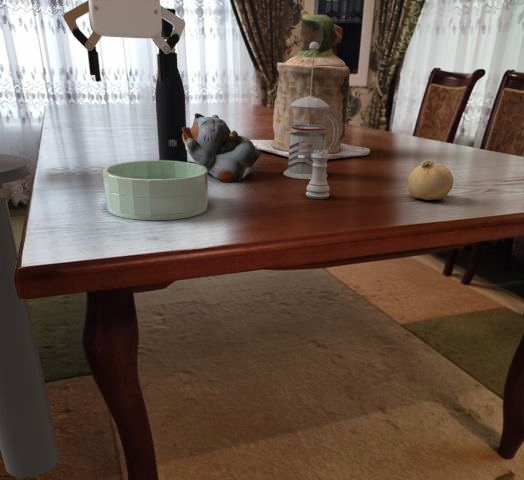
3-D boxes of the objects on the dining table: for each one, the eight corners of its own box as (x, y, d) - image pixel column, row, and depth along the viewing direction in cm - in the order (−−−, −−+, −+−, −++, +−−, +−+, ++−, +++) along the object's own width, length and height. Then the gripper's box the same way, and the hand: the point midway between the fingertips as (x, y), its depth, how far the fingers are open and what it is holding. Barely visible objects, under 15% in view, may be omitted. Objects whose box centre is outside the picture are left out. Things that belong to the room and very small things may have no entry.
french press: (297, 168, 120) (305, 42, 108) (343, 175, 115) (356, 43, 102) (274, 174, 113) (279, 40, 101) (321, 182, 108) (333, 41, 95)
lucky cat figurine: (240, 185, 103) (203, 117, 96) (196, 200, 110) (159, 138, 103) (271, 151, 112) (240, 87, 105) (229, 168, 119) (197, 109, 113)
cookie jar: (304, 164, 125) (315, 3, 109) (242, 149, 142) (244, 8, 126) (373, 155, 139) (391, 12, 123) (309, 143, 155) (318, 15, 140)
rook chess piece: (306, 199, 95) (310, 152, 91) (303, 193, 99) (306, 148, 95) (331, 199, 95) (335, 153, 91) (327, 194, 99) (331, 149, 95)
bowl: (125, 225, 78) (121, 183, 75) (95, 200, 90) (90, 163, 87) (224, 213, 85) (224, 175, 82) (184, 191, 97) (182, 157, 94)
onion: (412, 192, 102) (418, 153, 99) (453, 198, 99) (462, 158, 95) (399, 200, 96) (406, 159, 93) (443, 206, 93) (451, 165, 89)
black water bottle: (176, 159, 125) (169, 10, 110) (193, 164, 121) (188, 9, 106) (154, 162, 121) (143, 8, 106) (170, 167, 117) (161, 7, 102)
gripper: (178, -48, 78) (182, 82, 86) (53, -60, 73) (71, 79, 81) (187, -56, 71) (190, 85, 80) (52, -69, 67) (71, 82, 75)
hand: (130, 82), depth 81 cm, fingers open, 9 cm apart
